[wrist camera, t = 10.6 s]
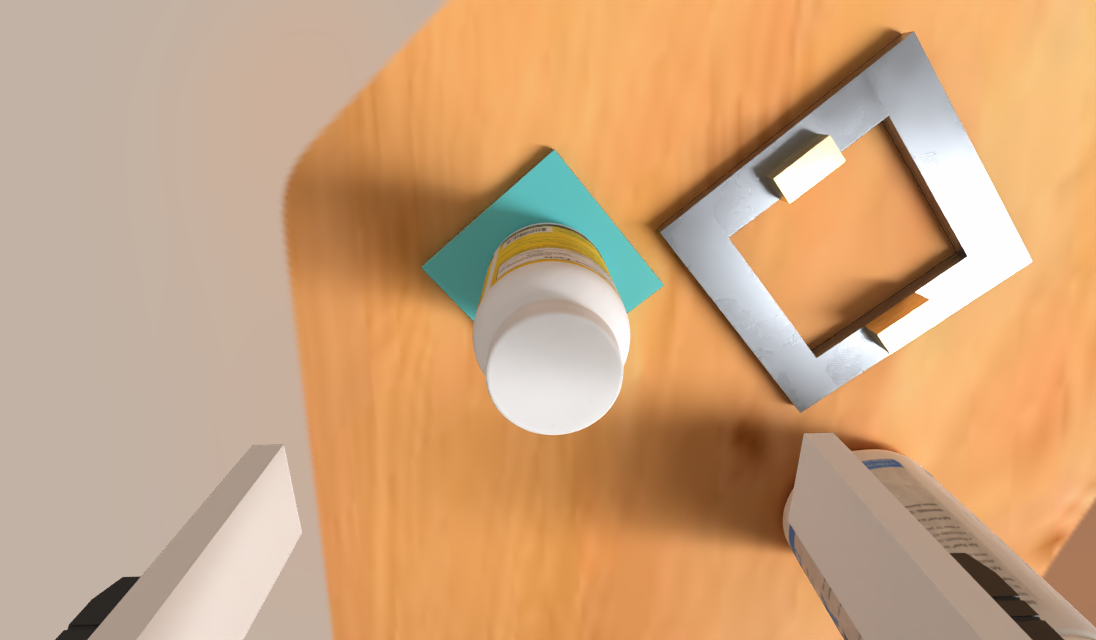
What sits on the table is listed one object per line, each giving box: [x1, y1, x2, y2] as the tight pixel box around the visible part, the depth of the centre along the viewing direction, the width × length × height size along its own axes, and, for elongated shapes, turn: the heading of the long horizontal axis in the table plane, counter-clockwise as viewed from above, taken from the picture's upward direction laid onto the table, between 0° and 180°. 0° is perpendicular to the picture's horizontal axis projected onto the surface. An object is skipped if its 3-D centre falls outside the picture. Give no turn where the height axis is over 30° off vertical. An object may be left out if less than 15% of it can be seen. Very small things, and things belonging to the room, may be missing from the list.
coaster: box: [421, 149, 664, 321], centre depth 29 cm, size 9×9×1 cm
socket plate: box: [657, 31, 1032, 413], centre depth 28 cm, size 14×14×2 cm
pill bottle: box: [473, 223, 630, 435], centre depth 23 cm, size 6×6×11 cm
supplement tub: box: [783, 449, 1096, 640], centre depth 28 cm, size 10×10×15 cm
